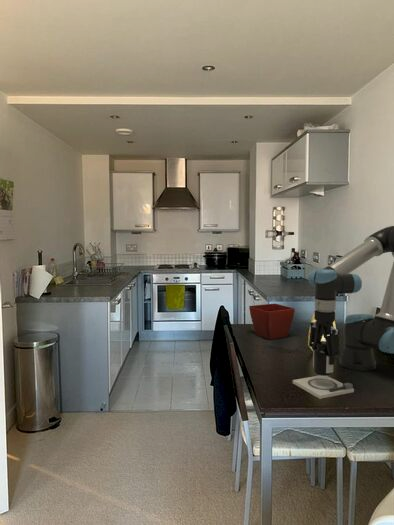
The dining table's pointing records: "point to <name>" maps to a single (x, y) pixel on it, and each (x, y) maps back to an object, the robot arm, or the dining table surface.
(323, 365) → the supplement bottle
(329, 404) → the dining table surface
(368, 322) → the robot arm
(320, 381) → the record player
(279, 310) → the plant pot
